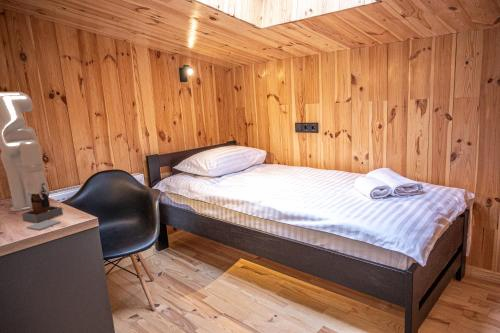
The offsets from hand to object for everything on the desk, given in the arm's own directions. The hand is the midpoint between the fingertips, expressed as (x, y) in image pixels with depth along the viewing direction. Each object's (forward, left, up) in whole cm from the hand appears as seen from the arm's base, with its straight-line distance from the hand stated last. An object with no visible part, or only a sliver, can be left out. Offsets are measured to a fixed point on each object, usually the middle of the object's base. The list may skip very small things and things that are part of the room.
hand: (40, 206), depth 149 cm
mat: (+12, -7, -6) cm, 15 cm away
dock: (0, 0, -6) cm, 6 cm away
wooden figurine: (0, 0, -5) cm, 5 cm away
